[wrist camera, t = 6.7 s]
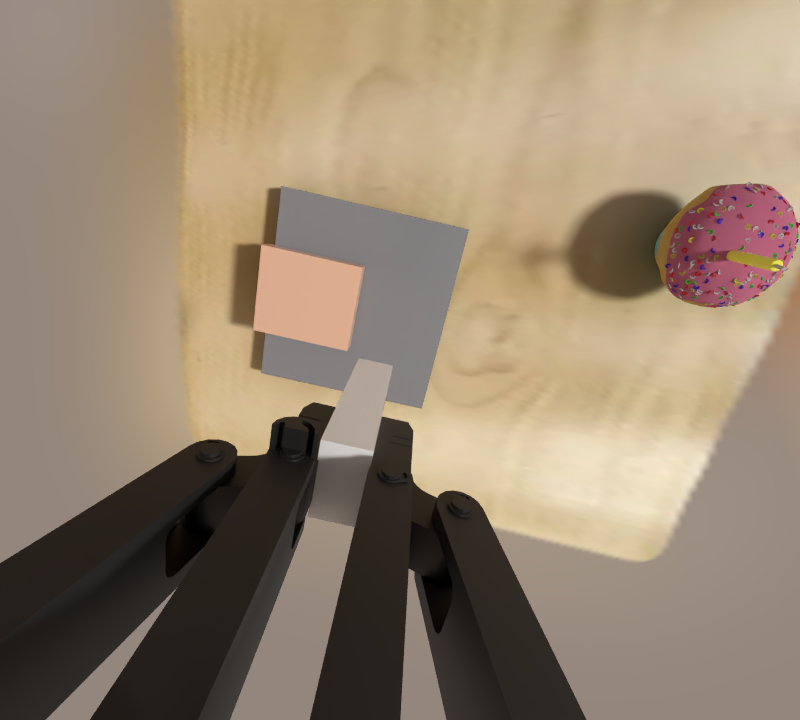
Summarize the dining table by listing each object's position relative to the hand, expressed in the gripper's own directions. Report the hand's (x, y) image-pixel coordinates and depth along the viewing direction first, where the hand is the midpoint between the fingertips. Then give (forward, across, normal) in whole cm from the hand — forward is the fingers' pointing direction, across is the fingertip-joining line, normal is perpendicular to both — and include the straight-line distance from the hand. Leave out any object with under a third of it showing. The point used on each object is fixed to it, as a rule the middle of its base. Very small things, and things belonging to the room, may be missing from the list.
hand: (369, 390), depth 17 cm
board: (+19, -3, -1) cm, 19 cm away
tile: (+16, -3, -1) cm, 17 cm away
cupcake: (+19, +22, +10) cm, 31 cm away
